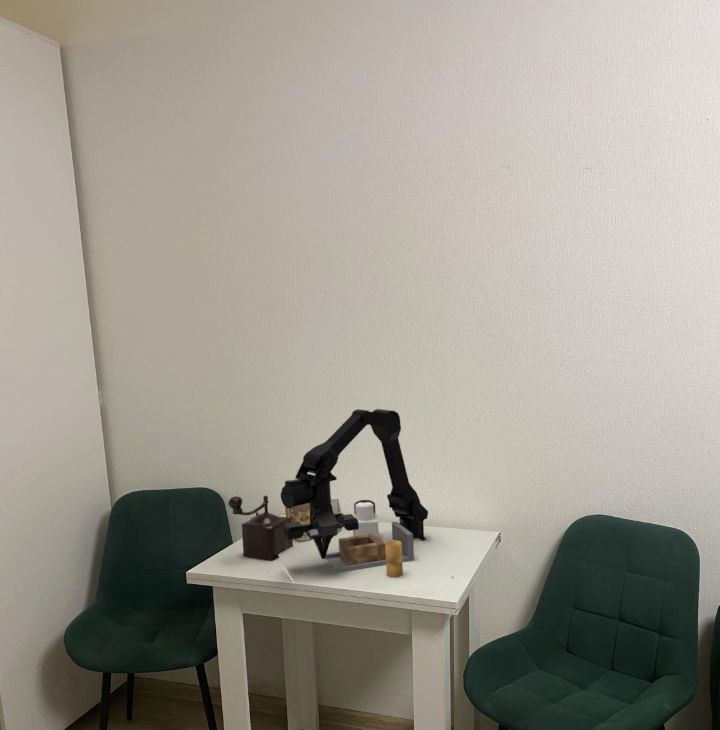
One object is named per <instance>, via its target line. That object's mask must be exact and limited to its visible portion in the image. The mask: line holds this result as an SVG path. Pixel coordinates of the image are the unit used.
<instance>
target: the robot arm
mask: <svg viewBox="0 0 720 730" xmlns="http://www.w3.org/2000/svg"><path fill="white" fill-rule="evenodd" d="M368 425H369V426H370V427H371V430H372V432H373V434H374V435H375V436H376V438H377V439H378V440H379V441H380V443H381V447H382V451H383V455H384V460H385V463H386V467H387V472H388V476H389V479H390V482H391V483H390V484H391V487H392V488H391V490H390V493H389V494H387V495H386V498H387V501H388V508H390V509H391V510H392V511H393V513H394V515H395V517H396V518H399V522H398V523H399V524H401V525H402V526H403V527H404V528H406V529H407V530H408V531H410V532H411V533H412V534H413V540H414V539H418V540H420V541H426V540H427V537H426V536H425V534H424V533H425V530H424V521H425V520H427V519H428V515H429V510H428V509H427V508H425V507H424V505H422V503H421V499H420V498H419V494H418V493H417V491H416V490H415V489H414V488H413V486H412V485H411V483H410V481H409V477H408V472H407V469H406V465H405V461H404V456H403V452H402V449H401V444H400V440H399V437H400V433H401V430H402V426H401V417H400V414H399V412H396V411H395V410H389V409H381V408H376V409H374V410H373V411H370V410H368V409H367V410H366V409H355V410H353V412H352V413H351V415H350V416H349V417H348V418H347V419H346V420H345V421H344V422H343V423H342V425H341V426H339V428H337V429H336V431H335V432H334V433H333V434H332V435H331V436H330V437H329V438H328V439H327V440H326V441H324V442H323V443H320V444H318V445H316V446H314V447H313V448H311V449H310V450H308V451H307V452H305V454H304V456H303V457H302V463H301V464H300V467H299V469H298V470H297V472H296V475H295V479H290V480H285V481H284V486H283V487H282V488H281V491H280V499H281V503H282V504H283V506H284V508H285V507H286V508H288V509H289V508H294V507H297V506H301V505H305V504H308V503H309V511H310V517H309V519H310V524H306V525H301V524H300V522H299V521H297V522H290V523H286V524H285V525H284V533H285V535H286V536H287V538H288V539H293V540H296V539H297V538H301V537H302V536H303V535H304V532H306V534H307V535H308V537H309V538H310V540H313V542H314V545H315V547H316V549H317V551H318V553H319V556H320V558H321V559H322V560H326V559H325V557H326V554H328V550H329V546H330V544H331V541H332V539H333V538H334V537H335V536H338V534H339V533H337V529H340V528H342V529H343V528H344V529H345V530H346V531H347V532H350V531H351V532H352V531H353V530H358V529H359V523H358V520H357V519H356V518H355V517H354V515H353V514H351V513H350V514H348V513H347V514H344V513H343V512H341V513H340V514H334V513H333V509H332V505H331V499H332V496H331V495H332V494H331V493H332V492H331V482H333V481H337V476H335V475H334V474H333V473H332V471H333V469H334V468H335V466H336V465H337V463H338V460H339V456H340V454H341V453H342V452H343V451H344V450H345V448H347V447H348V446H349V444H350V443H351V442H353V440H354V439H355V438H356V437H357V436H358V435H359V434H360V433H361V432H362V431H363V430H364V429H365V428H366V427H367V426H368Z"/></svg>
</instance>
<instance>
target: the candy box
mask: <svg viewBox="0 0 720 730" xmlns="http://www.w3.org/2000/svg"><path fill="white" fill-rule="evenodd" d="M284 508H285V509H284V511H285V517H288V518H291V520H292V522H297V521H299V522H300V524H301V525H306V524H310V519H309V517H310V511H309V503H308V504H305V505H301V506H297V507H294V508H289V509H288V508H286V507H285V506H284ZM295 540H296V541H297V542H299V543H302V542H305V541H310V540H311V539H310V538H309V537H308V535H307V534H306V532H304V535H303V536H302V537H301V538H297V539H295Z"/></svg>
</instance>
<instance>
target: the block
mask: <svg viewBox="0 0 720 730" xmlns="http://www.w3.org/2000/svg"><path fill="white" fill-rule="evenodd" d="M385 543H386V542H384V541H383V540H382V539H381V538H380V537H379V538H378V537H377V536H376V535H375V534H367V535H360V536H354V535H353V536H347V537H341V538H338V550H339V551H338V552H339V556H340V558H341V559H342V560H343V561H344V563H345V564H346V565H347V566H349V565H355V564H362V563H368V562H374V561H380V560H386V550H385Z"/></svg>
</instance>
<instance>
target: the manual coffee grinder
mask: <svg viewBox="0 0 720 730" xmlns="http://www.w3.org/2000/svg"><path fill="white" fill-rule="evenodd" d="M268 499H269V496H268V495H264V496H263V501H262V503H261V504H260V506H258V507H257V508H255V509H253V510H251V511H248V512H247V511H246V512H245V511H244V510H243V508H242V507H241V506H242V504H243V498H241V496H236V495H235V496H232V497H230V498H229V499H228V503H227V506H228V507H229V508H230V509H232V514H234V515H240V516H250V515H254V514H255V516H253V517H251V518H250V519H249V520H247V521H245V522H243V523H241V536H242V550H243V553H242V556H243V557H246V558H249V559H255V560H260V561H268V562H273V561H275V560H278V559H279V558H280V556H279V555H280V554H281V553H284V552H285V551H287V550H289V549H290V548H292V547H294V543H293V542H294V541H293V540H294V539H288V538H287V536H286V535H285V533H284V525H285V524H286V523H290V522H292V520H291V518H288V517H286V516H280V515H276V514H273V513H270V512H269V510H268V504H269V500H268ZM263 508H264V512H261V513H260V514H259V511H260V510H262V509H263ZM243 511H244V512H243Z"/></svg>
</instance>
